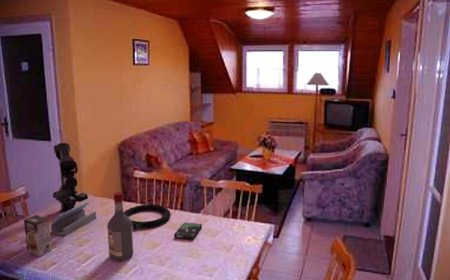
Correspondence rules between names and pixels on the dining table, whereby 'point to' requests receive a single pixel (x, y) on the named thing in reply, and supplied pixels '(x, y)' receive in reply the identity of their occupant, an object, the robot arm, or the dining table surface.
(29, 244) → the coffee box
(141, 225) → the cable lock
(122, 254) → the liquor
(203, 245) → the dining table surface
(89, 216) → the grey tray with bar
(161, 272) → the dining table surface
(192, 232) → the disk drive
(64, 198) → the robot arm
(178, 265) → the dining table surface
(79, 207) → the cover
